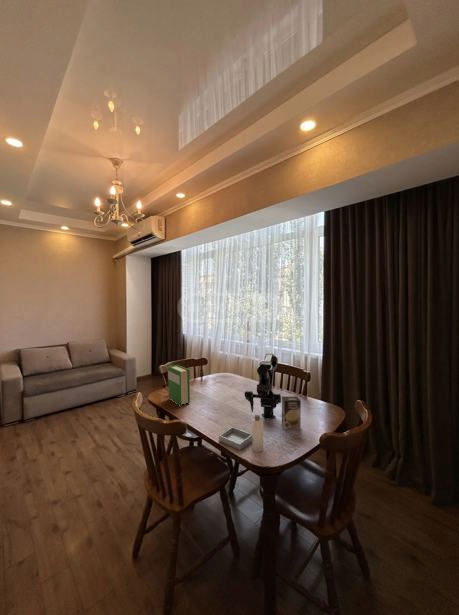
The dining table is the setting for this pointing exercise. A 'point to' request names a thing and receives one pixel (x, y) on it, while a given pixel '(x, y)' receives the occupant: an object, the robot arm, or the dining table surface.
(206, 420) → the dining table surface
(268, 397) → the robot arm
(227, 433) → the tray
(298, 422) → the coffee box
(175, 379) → the hardback book
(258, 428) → the cream bottle
